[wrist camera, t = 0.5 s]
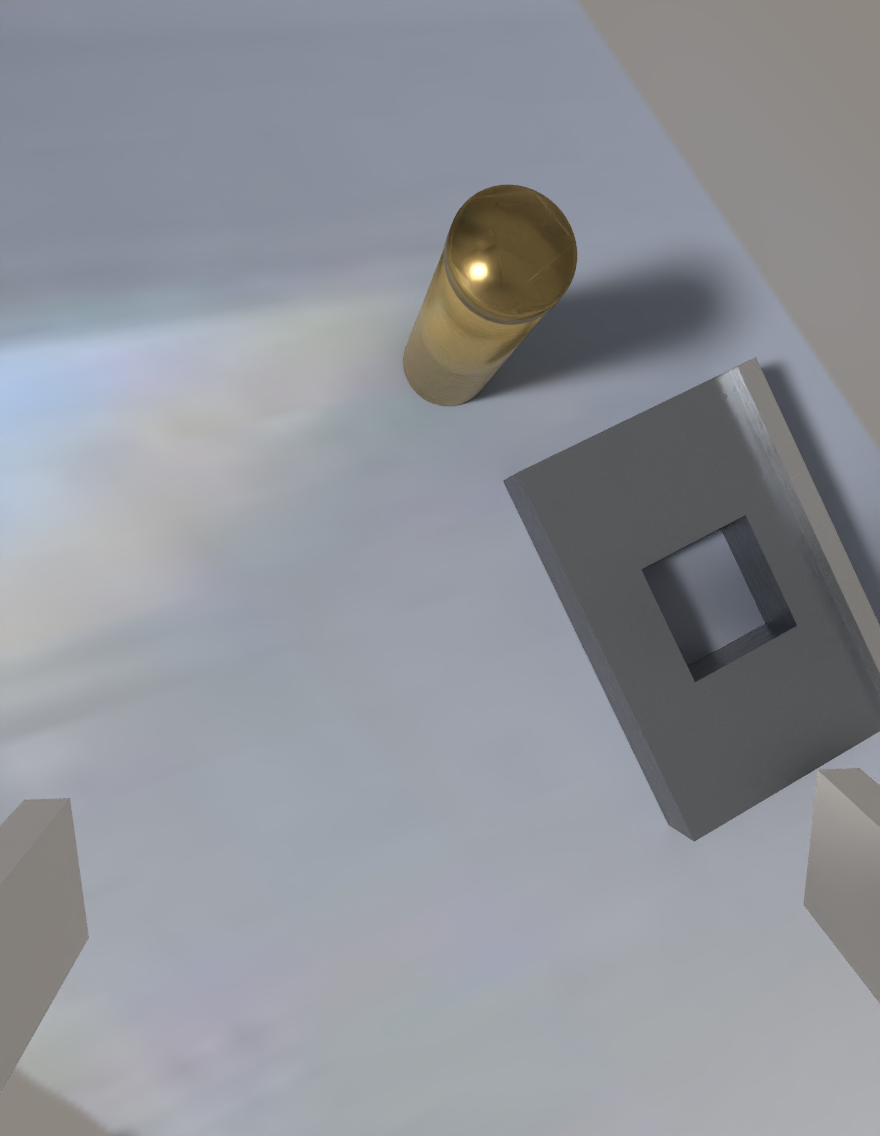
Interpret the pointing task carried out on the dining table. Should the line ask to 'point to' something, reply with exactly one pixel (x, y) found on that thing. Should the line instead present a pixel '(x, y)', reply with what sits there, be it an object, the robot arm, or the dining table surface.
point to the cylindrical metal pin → (488, 291)
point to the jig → (770, 567)
